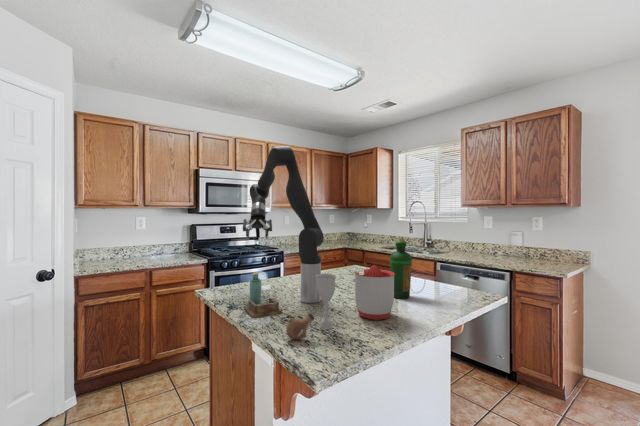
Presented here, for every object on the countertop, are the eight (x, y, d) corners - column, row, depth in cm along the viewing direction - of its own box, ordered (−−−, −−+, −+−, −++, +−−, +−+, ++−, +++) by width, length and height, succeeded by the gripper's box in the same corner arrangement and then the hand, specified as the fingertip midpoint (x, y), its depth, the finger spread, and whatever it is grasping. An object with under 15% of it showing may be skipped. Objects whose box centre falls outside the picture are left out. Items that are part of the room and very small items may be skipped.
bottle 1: (262, 300, 143) (262, 272, 143) (259, 304, 138) (259, 274, 138) (251, 300, 143) (252, 271, 143) (248, 303, 138) (248, 273, 138)
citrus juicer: (366, 306, 136) (366, 259, 136) (402, 315, 123) (402, 264, 123) (342, 314, 125) (342, 263, 125) (379, 325, 112) (379, 269, 112)
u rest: (271, 305, 136) (271, 296, 136) (282, 313, 126) (282, 303, 126) (244, 309, 130) (244, 299, 130) (252, 317, 120) (252, 307, 120)
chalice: (338, 324, 113) (338, 274, 113) (333, 331, 107) (333, 278, 107) (319, 322, 115) (319, 273, 115) (312, 328, 109) (313, 276, 109)
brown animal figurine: (312, 335, 103) (313, 311, 103) (315, 340, 99) (315, 315, 99) (285, 338, 101) (285, 313, 101) (287, 343, 97) (287, 317, 97)
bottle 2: (414, 300, 146) (415, 239, 146) (391, 299, 146) (392, 239, 146) (408, 294, 157) (409, 237, 157) (387, 293, 157) (387, 237, 157)
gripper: (243, 207, 159) (241, 231, 148) (272, 207, 161) (272, 231, 150) (244, 217, 164) (242, 241, 153) (272, 217, 167) (272, 241, 155)
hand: (257, 236), depth 152 cm, fingers open, 8 cm apart
